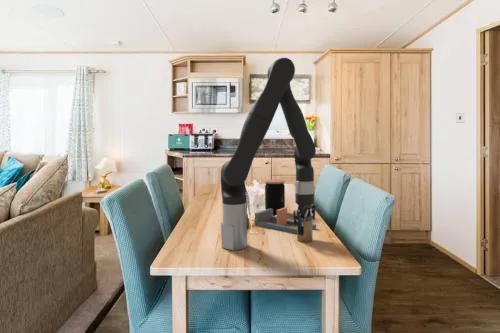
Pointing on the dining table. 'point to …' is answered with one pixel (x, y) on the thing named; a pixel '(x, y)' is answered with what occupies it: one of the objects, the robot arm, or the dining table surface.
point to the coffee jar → (274, 195)
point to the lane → (267, 216)
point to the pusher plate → (281, 216)
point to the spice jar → (306, 231)
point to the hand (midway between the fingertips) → (304, 232)
